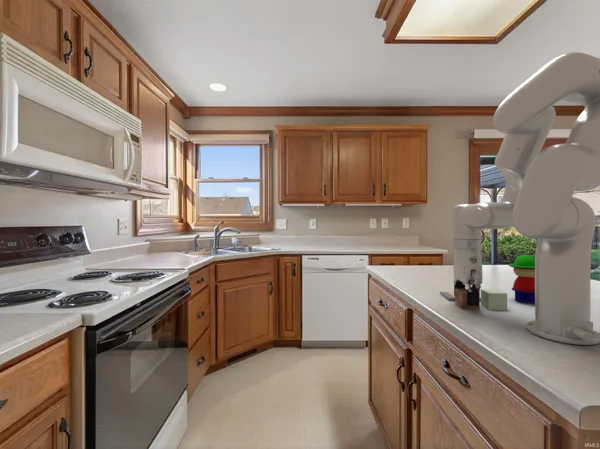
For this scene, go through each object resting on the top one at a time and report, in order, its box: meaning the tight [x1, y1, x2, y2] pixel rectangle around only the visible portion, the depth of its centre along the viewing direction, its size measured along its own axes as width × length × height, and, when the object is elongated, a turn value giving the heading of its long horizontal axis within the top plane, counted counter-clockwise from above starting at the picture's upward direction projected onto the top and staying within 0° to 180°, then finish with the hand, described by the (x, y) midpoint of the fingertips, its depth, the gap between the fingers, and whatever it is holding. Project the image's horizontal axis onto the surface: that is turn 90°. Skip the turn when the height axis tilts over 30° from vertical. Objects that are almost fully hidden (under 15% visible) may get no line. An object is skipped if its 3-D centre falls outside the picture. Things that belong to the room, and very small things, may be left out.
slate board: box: [439, 291, 481, 302], centre depth 101 cm, size 9×10×1 cm
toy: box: [508, 254, 535, 305], centre depth 96 cm, size 9×9×15 cm
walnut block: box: [454, 288, 481, 311], centre depth 91 cm, size 5×5×5 cm
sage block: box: [480, 288, 508, 311], centre depth 90 cm, size 5×5×5 cm
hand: (465, 300), depth 91 cm, fingers open, 9 cm apart
